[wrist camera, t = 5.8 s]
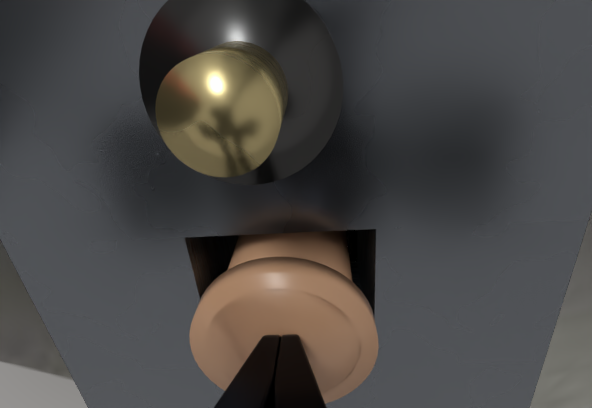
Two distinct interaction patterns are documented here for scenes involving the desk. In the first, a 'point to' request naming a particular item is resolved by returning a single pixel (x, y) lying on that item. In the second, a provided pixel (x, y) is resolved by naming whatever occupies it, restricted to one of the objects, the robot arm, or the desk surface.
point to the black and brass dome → (241, 86)
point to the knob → (288, 309)
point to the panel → (309, 195)
